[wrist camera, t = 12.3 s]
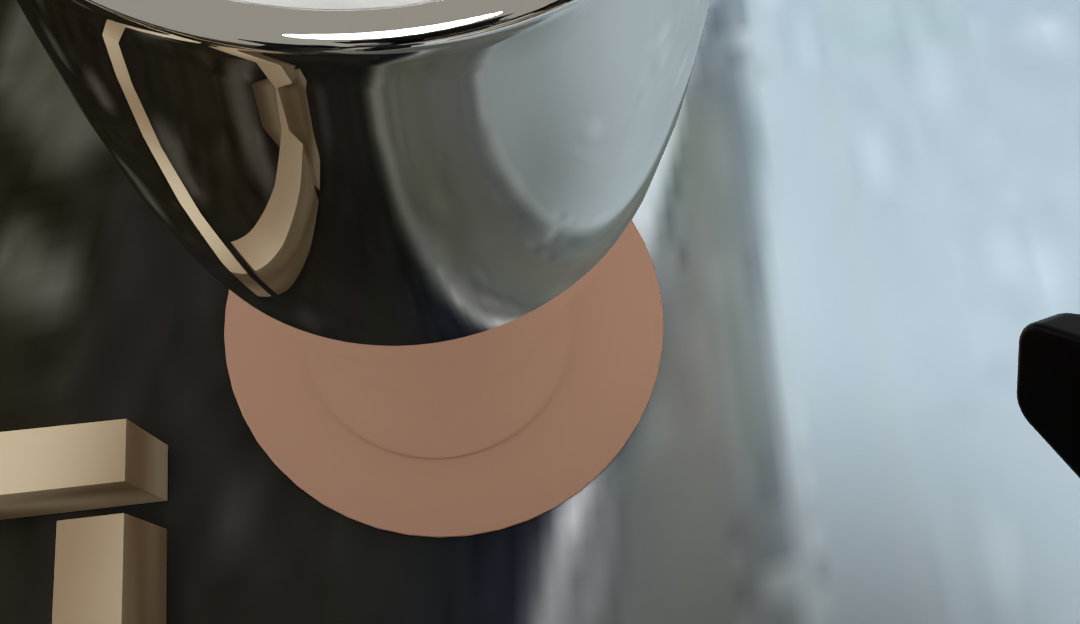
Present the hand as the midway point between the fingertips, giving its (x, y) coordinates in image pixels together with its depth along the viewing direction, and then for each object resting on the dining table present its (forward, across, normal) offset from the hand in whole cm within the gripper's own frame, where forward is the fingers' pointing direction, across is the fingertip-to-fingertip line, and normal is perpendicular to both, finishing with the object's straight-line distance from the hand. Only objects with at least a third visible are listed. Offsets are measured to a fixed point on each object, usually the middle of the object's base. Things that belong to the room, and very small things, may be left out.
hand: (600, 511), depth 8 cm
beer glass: (+13, 0, +4) cm, 13 cm away
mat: (+13, 0, +4) cm, 13 cm away
